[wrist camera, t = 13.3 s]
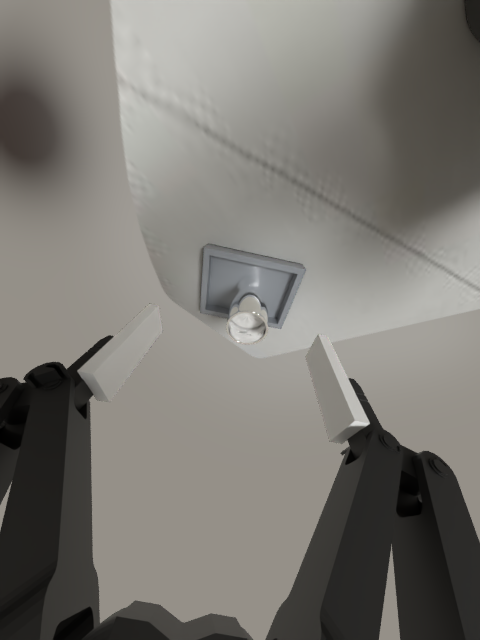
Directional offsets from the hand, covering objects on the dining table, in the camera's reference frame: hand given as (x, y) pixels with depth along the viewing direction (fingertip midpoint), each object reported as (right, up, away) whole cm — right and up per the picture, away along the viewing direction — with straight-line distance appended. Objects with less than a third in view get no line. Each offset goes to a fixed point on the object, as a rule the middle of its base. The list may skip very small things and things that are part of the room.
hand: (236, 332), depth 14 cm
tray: (+2, +9, +25) cm, 27 cm away
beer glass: (+3, +8, +24) cm, 26 cm away
